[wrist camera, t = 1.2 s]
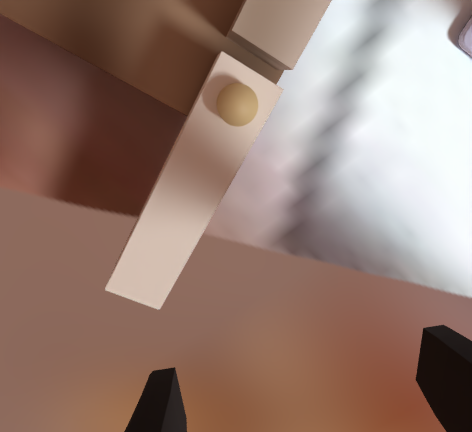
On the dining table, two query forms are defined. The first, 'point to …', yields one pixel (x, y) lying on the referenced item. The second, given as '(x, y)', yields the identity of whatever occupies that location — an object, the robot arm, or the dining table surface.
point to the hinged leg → (193, 180)
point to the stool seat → (174, 37)
